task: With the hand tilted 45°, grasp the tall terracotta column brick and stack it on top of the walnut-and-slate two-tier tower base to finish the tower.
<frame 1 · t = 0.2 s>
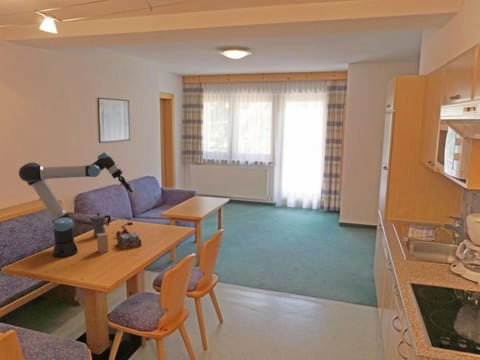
hand: (133, 194, 267), 35 cm above the table, tool tilted 35°, fingers open, 13 cm apart
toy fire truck: (124, 235, 284), on the table
tower base: (129, 244, 261), on the table
coffeepot: (101, 235, 284), on the table
column brick: (103, 251, 248), on the table
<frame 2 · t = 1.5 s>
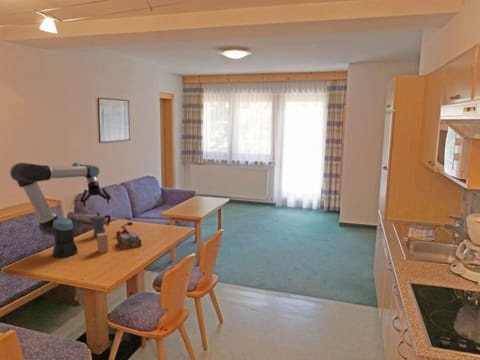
hand: (97, 208, 256), 27 cm above the table, tool tilted 45°, fingers open, 13 cm apart
nothing on the table moved.
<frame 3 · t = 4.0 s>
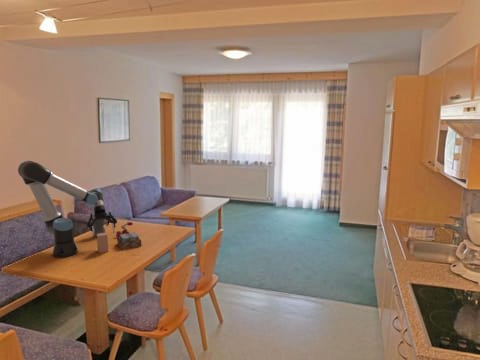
hand: (104, 233, 253), 10 cm above the table, tool tilted 45°, fingers open, 13 cm apart
nothing on the table moved.
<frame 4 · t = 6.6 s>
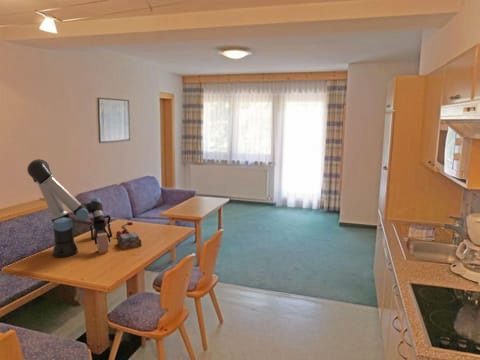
hand: (103, 247, 245), 4 cm above the table, tool tilted 45°, fingers closed on column brick, 6 cm apart
column brick: (103, 251, 248), on the table, touching gripper
everything else where it was.
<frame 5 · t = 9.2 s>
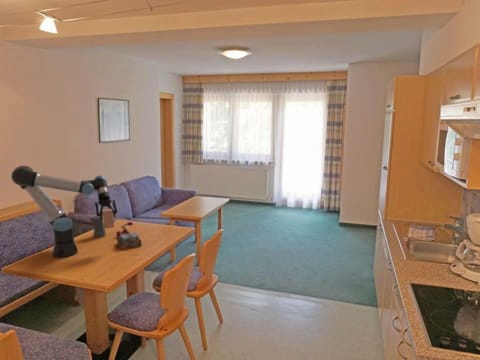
hand: (108, 222, 245), 20 cm above the table, tool tilted 45°, fingers closed on column brick, 6 cm apart
column brick: (108, 227, 249), point 16 cm above the table, touching gripper
everything else where it was.
when the fingers open (12 cm above the table, at t = 11.7 s): column brick drops 1 cm, resting on tower base.
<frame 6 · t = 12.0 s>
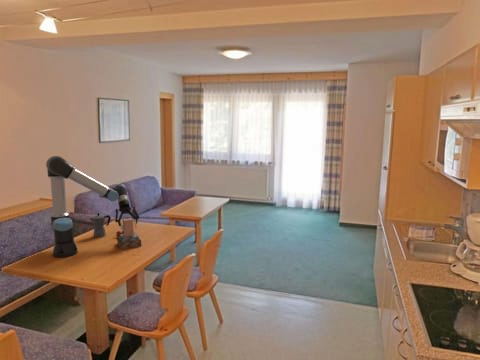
hand: (129, 228, 256), 13 cm above the table, tool tilted 45°, fingers open, 9 cm apart
column brick: (128, 235, 260), point 7 cm above the table, touching tower base
everything else where it was.
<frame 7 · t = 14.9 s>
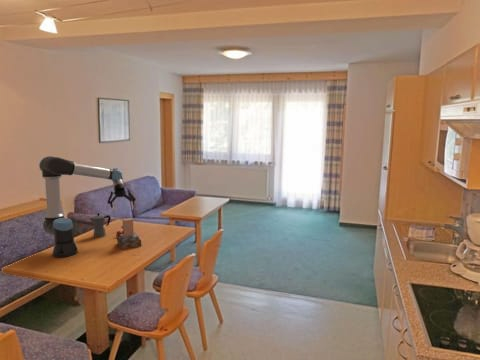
hand: (123, 209, 266), 24 cm above the table, tool tilted 45°, fingers open, 13 cm apart
nothing on the table moved.
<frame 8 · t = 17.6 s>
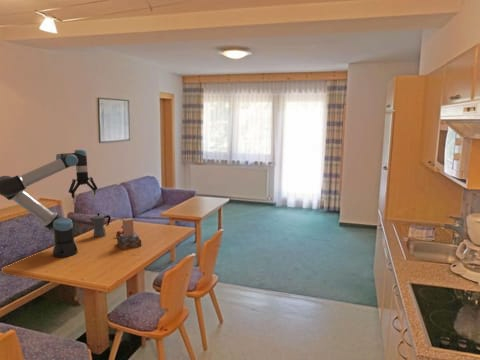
hand: (84, 200, 261), 32 cm above the table, tool pointing down, fingers open, 13 cm apart
nothing on the table moved.
at the end: column brick 0.1 cm off-centre on the tower base, point 7.0 cm above the tower base's base; column brick tilted 0°; the gripper is holding nothing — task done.
